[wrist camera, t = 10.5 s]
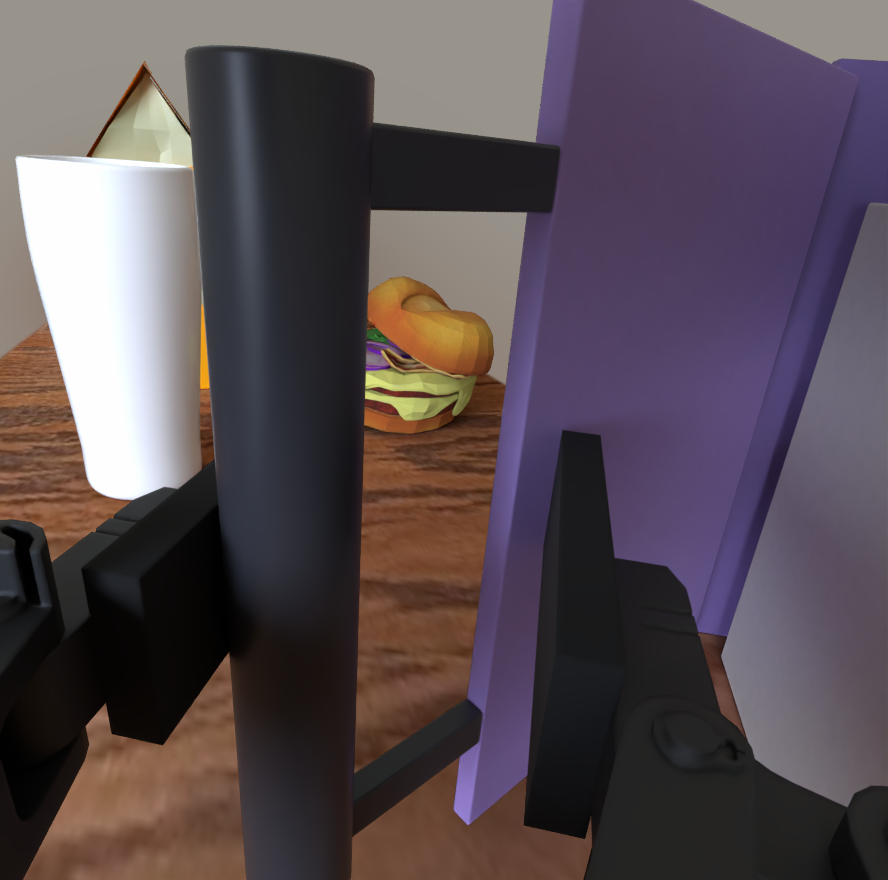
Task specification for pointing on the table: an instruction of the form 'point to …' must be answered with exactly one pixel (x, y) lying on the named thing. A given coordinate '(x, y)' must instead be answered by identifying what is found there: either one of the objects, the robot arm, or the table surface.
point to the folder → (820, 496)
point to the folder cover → (529, 369)
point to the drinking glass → (121, 311)
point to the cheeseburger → (420, 357)
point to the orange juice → (149, 144)
